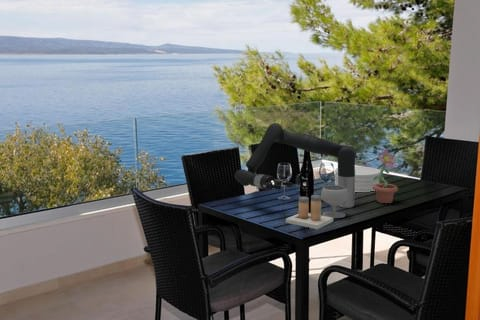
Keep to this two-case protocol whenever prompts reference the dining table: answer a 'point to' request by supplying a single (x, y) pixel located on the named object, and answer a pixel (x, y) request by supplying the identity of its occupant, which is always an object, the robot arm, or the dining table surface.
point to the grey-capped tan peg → (303, 207)
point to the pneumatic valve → (299, 179)
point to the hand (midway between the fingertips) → (286, 186)
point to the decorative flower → (384, 189)
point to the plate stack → (363, 178)
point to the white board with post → (312, 216)
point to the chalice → (334, 199)
